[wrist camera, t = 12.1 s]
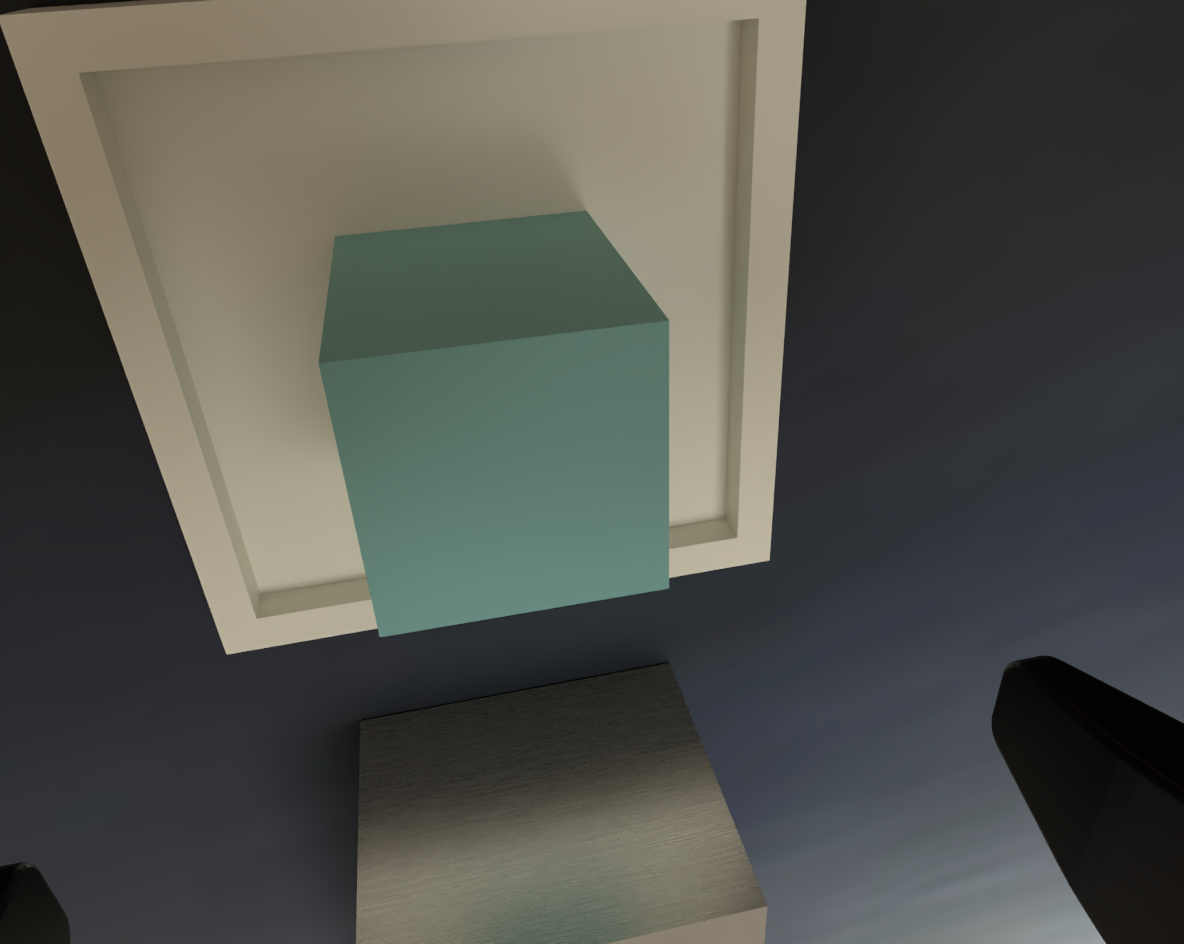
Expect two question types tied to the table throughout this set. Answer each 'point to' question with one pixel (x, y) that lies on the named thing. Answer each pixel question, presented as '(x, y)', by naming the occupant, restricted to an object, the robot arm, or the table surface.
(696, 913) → the box
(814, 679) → the table surface
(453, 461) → the teal block
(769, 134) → the tray
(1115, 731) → the robot arm
